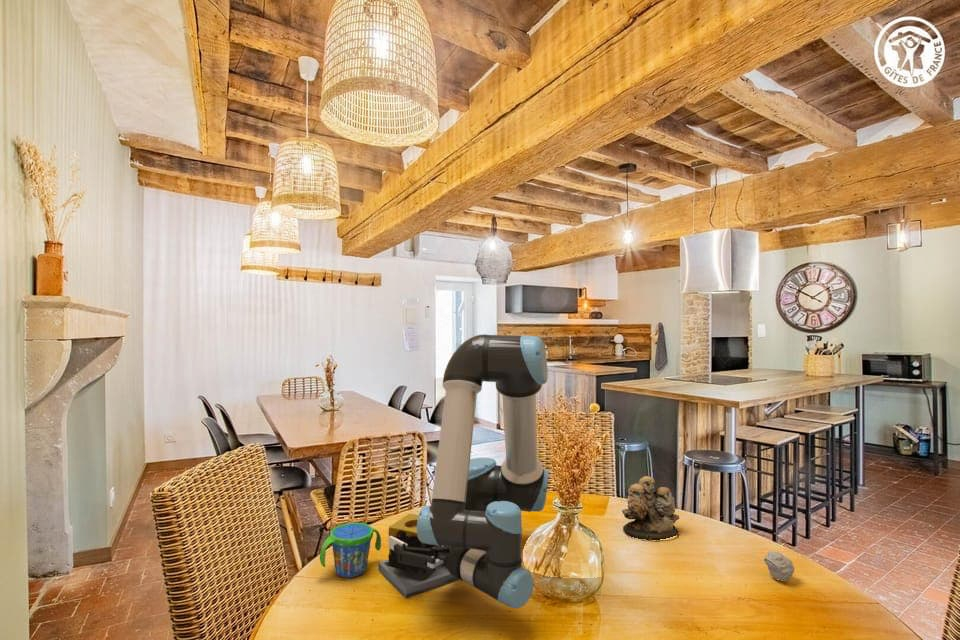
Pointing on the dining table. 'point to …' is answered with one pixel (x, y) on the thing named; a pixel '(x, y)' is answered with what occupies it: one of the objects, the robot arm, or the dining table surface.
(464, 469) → the robot arm
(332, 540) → the snack cup
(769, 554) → the grey rounded lump
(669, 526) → the owl figurine
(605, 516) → the dining table surface
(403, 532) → the candle
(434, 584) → the tray
